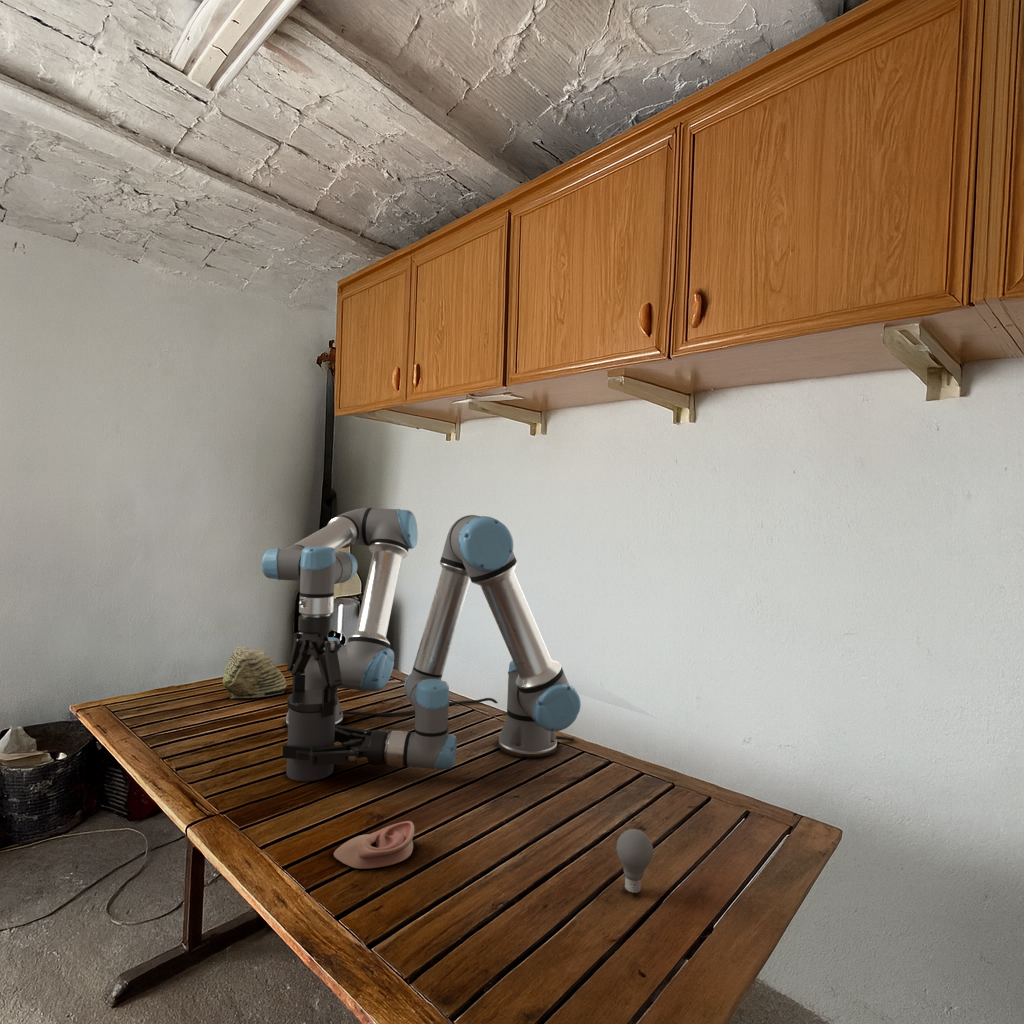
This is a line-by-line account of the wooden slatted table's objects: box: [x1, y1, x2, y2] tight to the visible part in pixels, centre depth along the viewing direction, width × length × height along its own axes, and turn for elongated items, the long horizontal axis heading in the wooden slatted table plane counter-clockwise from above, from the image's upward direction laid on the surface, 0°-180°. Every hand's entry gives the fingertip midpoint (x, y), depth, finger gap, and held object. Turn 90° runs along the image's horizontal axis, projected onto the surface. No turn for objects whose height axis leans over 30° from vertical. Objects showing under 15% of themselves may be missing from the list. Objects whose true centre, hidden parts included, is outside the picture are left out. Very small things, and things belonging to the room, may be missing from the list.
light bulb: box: [615, 828, 654, 894], centre depth 106 cm, size 6×6×10 cm
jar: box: [286, 706, 336, 782], centre depth 146 cm, size 10×10×17 cm
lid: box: [286, 689, 339, 712], centre depth 145 cm, size 11×11×2 cm
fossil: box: [222, 646, 288, 699], centre depth 198 cm, size 9×18×15 cm, turn 132°
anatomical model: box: [333, 820, 415, 870], centre depth 114 cm, size 13×4×12 cm
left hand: (312, 709), depth 145 cm, fingers closed on lid, 11 cm apart
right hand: (293, 741), depth 146 cm, fingers closed on jar, 10 cm apart
